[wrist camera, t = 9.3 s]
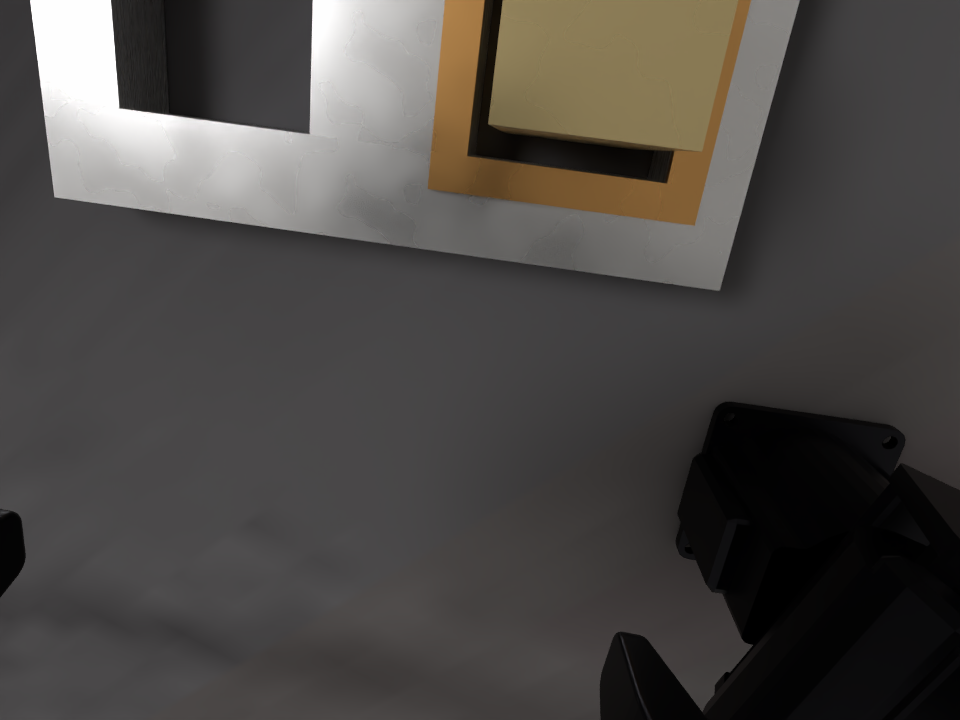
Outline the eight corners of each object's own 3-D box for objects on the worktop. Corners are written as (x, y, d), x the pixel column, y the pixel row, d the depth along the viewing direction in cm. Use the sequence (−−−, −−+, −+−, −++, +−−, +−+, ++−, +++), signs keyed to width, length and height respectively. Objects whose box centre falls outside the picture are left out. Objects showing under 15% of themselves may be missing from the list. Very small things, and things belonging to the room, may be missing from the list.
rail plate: (801, -132, 16) (856, -187, 13) (696, 273, 20) (722, 293, 17) (72, -220, 16) (-15, -291, 14) (109, 190, 20) (47, 198, 17)
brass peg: (659, 3, 17) (764, -109, 10) (630, 149, 18) (701, 151, 11) (522, -14, 17) (519, -138, 10) (504, 132, 19) (488, 124, 11)
